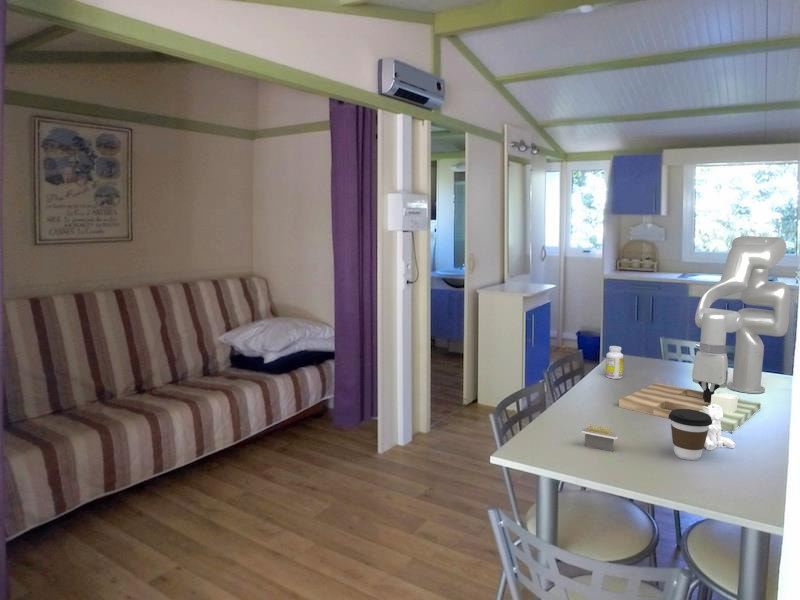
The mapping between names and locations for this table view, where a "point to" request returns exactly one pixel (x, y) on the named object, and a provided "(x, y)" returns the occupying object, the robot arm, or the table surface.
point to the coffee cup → (689, 432)
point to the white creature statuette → (716, 429)
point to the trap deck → (683, 404)
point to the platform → (599, 438)
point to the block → (725, 402)
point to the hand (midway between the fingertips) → (708, 401)
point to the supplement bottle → (614, 363)
